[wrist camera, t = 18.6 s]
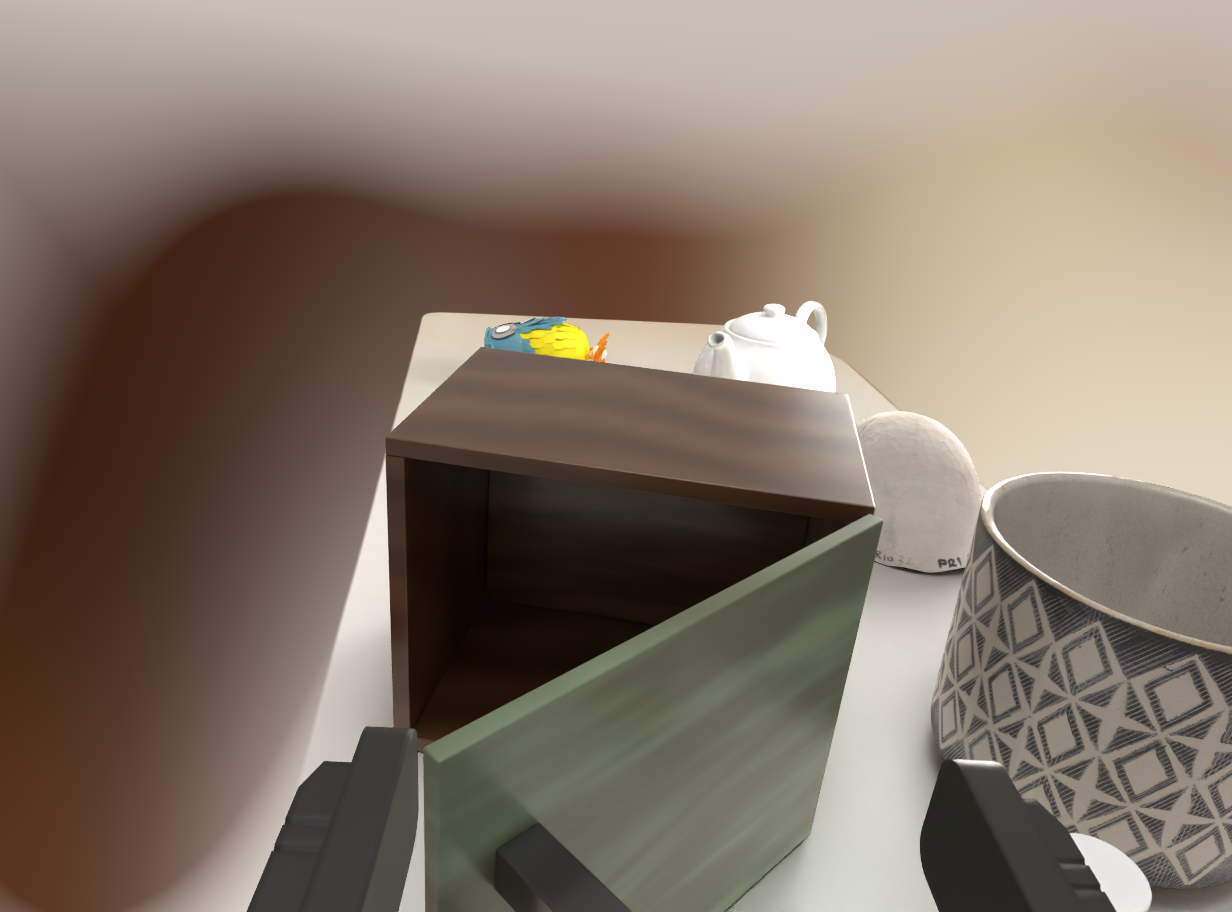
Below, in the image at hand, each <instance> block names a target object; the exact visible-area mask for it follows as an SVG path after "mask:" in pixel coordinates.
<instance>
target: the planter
mask: <svg viewBox="0 0 1232 912" xmlns="http://www.w3.org/2000/svg"><path fill="white" fill-rule="evenodd" d="M931 723H932V729H933V733H934V736H935V739H936V742H937V745H938V747H939V749H940V752H941V754H942V755H943V757H944V759H945V760H947V759H962V760H981V761H996V762H999V763H1000V764H1001V765H1002V766H1003V767H1004V768H1005V770H1006V771H1007V773H1008V775H1009V777H1010V778H1011V780H1012V782H1013V784H1014V785H1015V787H1016V789H1017V791H1018V792H1019V794H1020V796H1021V798H1022V799H1036V800H1037V801H1038V802H1039V803H1040V804H1041V805H1043V806H1044V807H1045V808H1046V809H1047V810H1048V811H1049V812H1050V813H1051V814H1052V815H1053V816H1054V817H1055V818H1056V819H1057V820H1059V821H1060V822H1061V823H1062V824H1063V825H1064V826H1065V827H1066V828H1067V830H1068V832H1069V833H1079V834H1084V835H1088V836H1092V837H1095V838H1098V839H1100V840H1102V841H1104V842H1106V843H1108V844H1110V845H1112V846H1114V847H1115V848H1117V849H1118V850H1120V851H1121V852H1123V853H1124V854H1125V855H1126V856H1128V857H1129V858H1130V859H1131V860H1132V861H1133V862H1134V863H1135V864H1136V865H1137V866H1138V867H1139V868H1140V870H1141V871H1142V872H1143V874H1144V875H1145V877H1146V878H1147V880H1148V882H1149V885H1150V886H1155V887H1163V888H1177V889H1191V888H1204V887H1210V886H1215V885H1219V884H1223V883H1226V882H1229V881H1232V507H1230V506H1228V505H1225V504H1222V503H1219V502H1216V501H1213V500H1210V499H1207V498H1204V497H1201V496H1197V495H1194V494H1191V493H1187V492H1184V491H1180V490H1176V489H1173V488H1169V487H1165V486H1160V485H1156V484H1152V483H1147V482H1142V481H1137V480H1131V479H1126V478H1120V477H1114V476H1107V475H1098V474H1088V473H1073V472H1048V473H1036V474H1028V475H1023V476H1018V477H1014V478H1011V479H1008V480H1005V481H1003V482H1001V483H999V484H997V485H996V486H994V487H993V488H991V489H990V490H989V491H988V492H987V493H986V494H985V496H984V498H983V500H982V503H981V507H980V511H979V515H978V519H977V523H976V527H975V531H974V535H973V539H972V543H971V547H970V551H969V555H968V559H967V563H966V567H965V571H964V575H963V579H962V583H961V587H960V591H959V595H958V599H957V603H956V607H955V611H954V615H953V619H952V623H951V627H950V631H949V635H948V639H947V643H946V647H945V651H944V655H943V659H942V663H941V667H940V671H939V675H938V679H937V683H936V687H935V691H934V695H933V699H932V705H931Z"/></svg>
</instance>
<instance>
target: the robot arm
mask: <svg viewBox="0 0 1232 912" xmlns="http://www.w3.org/2000/svg"><path fill="white" fill-rule="evenodd" d="M417 819H418V747H417V732H416V729H407V728H388V727H369V726H367V727H365V728H364V730H363V732H362V734H361V737H360V740H359V743H358V746H357V748H356V751H355V754H354V757H353V760H352V762H351V763H350V762H330V761H324V762H323V763H322V764H321V765H320V766H319V767H318V768H317V769H316V770H315V771H314V772H313V773H312V774H311V775H310V776H309V777H308V778H307V779H306V780H305V781H304V782H303V783H302V784H301V785H300V786H299V787H298V790H297V792H296V795H295V797H294V799H293V802H292V804H291V807H290V809H289V811H288V814H287V816H286V820H285V824H284V825H283V826H282V828H281V831H280V833H279V836H278V838H277V840H276V843H275V847H274V851H272V852H271V855H270V857H269V859H268V862H267V864H266V867H265V869H264V871H263V874H262V876H261V879H260V881H259V883H258V886H257V888H256V891H255V893H254V895H253V898H252V900H251V903H250V905H249V907H248V910H247V912H398V910H399V906H400V902H401V898H402V894H403V889H404V885H405V881H406V877H407V873H408V868H409V864H410V860H411V856H412V852H413V847H414V842H415V836H416V829H417ZM920 855H921V862H922V867H923V871H924V874H925V877H926V880H927V882H928V885H929V887H930V890H931V892H932V895H933V898H934V900H935V903H936V905H937V908H938V910H939V912H1117V911H1116V910H1115V908H1114V906H1113V905H1112V903H1111V901H1110V900H1109V898H1108V896H1107V895H1106V893H1105V892H1102V891H1101V888H1100V886H1101V885H1100V883H1099V881H1098V880H1097V878H1096V876H1095V875H1094V873H1093V872H1092V870H1091V868H1090V867H1089V865H1086V864H1085V858H1084V857H1083V855H1082V853H1081V852H1080V850H1079V848H1078V847H1077V845H1076V843H1075V842H1074V840H1073V838H1072V837H1071V835H1070V833H1069V832H1068V830H1067V828H1066V827H1065V826H1064V825H1063V824H1062V823H1061V822H1060V821H1059V820H1057V819H1056V818H1055V817H1054V816H1053V815H1052V814H1051V813H1050V812H1049V811H1048V810H1047V809H1046V808H1045V807H1044V806H1043V805H1041V804H1040V803H1039V802H1038V801H1037V800H1036V799H1022V798H1021V796H1020V794H1019V792H1018V791H1017V789H1016V787H1015V785H1014V784H1013V782H1012V780H1011V778H1010V777H1009V775H1008V773H1007V771H1006V770H1005V768H1004V767H1003V766H1002V765H1001V764H1000V763H999V762H996V761H981V760H962V759H947V760H945V761H944V762H943V764H942V766H941V768H940V771H939V775H938V778H937V781H936V784H935V788H934V791H933V794H932V797H931V801H930V804H929V807H928V810H927V814H926V817H925V820H924V824H923V827H922V831H921V836H920Z"/></svg>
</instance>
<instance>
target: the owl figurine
mask: <svg viewBox="0 0 1232 912" xmlns="http://www.w3.org/2000/svg"><path fill="white" fill-rule="evenodd" d="M554 318H555V319H553V317H550V318H546V319H544V318H542V319H536V318H533V319H531V320H529V321H527V322H525V323H523V324H521V323H520V322H519V323H513V324H512V323H508V324H503V325H500V326H498V327H495V328H492V329H490V327H488V328H487V330H486V333H485V339H484V342H485V348H493V349H501V350H509V351H516V352H524V353H532V354H540V355H548V356H555V357H563V358H571V359H579V360H586V361H589V359H594V362H602V363H605V359H604V358H605V357H606V354H607V353H606V350H605V349H606V346H605V345H606V343H607V341H606V339H607V338H608V336H609V333H608V334H605V335H604V336H603V338H602V339H601V340H600V342H599V343H598V345H597V346H596V347H594V348H590V347H589V343H588V340H587V338H586V335H585V334H584V333H583V332H582V331H581V330H579V329H578V328H579V327H577V326H574V325H570V324H568V323H563V322H561V321H566V320H567V319H561V318H565V317H559V318H557V317H554ZM535 319H536V320H535ZM604 346H605V347H604ZM590 351H592V355H590Z"/></svg>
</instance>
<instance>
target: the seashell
mask: <svg viewBox="0 0 1232 912" xmlns="http://www.w3.org/2000/svg"><path fill="white" fill-rule="evenodd" d="M855 427H856V431H857V435H858V439H859V443H860V447H861V451H862V455H863V459H864V463H865V467H866V472H867V476H868V480H869V484H870V488H871V492H872V496H873V500H874V504H875V512H874V516H875V517H878V518H880V519H882V520H883V525H882V530H881V534H880V538H879V542H878V547H877V551H876V555H875V559H874V561H876V562H878V563H881V564H884V565H887V566H898V567H905V568H909V569H914V570H918V571H921V572H928V573H934V572H942V571H948V570H954V569H960V568H964V567H966V563H967V559H968V555H969V551H970V547H971V543H972V539H973V535H974V531H975V527H976V523H977V519H978V515H979V511H980V507H981V503H982V498H981V490H980V484H979V481H978V477H977V474H976V470H975V467H974V464H973V462H972V459H971V457H970V456H969V454H968V452H967V450H966V449H965V447H964V446H963V444H962V443H961V442H960V440H959V439H958V438H957V437H956V436H955V435H954V434H953V433H952V432H951V431H950V430H948V429H947V428H946V427H944V426H943V425H942V424H940V423H939V422H937V421H935V420H933V419H930V418H928V417H926V416H923V415H920V414H915V413H910V412H885V413H880V414H876V415H873V416H870V417H868V418H865V419H864V420H862V421H860V422H859V423H857V424H856V425H855Z"/></svg>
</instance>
